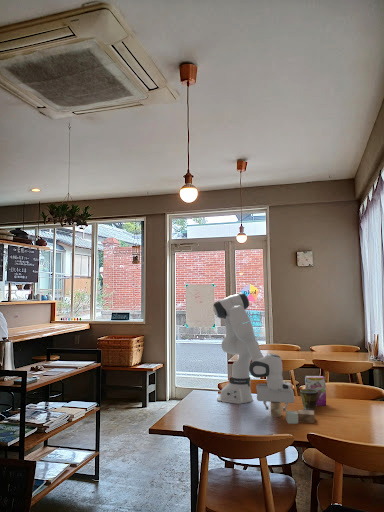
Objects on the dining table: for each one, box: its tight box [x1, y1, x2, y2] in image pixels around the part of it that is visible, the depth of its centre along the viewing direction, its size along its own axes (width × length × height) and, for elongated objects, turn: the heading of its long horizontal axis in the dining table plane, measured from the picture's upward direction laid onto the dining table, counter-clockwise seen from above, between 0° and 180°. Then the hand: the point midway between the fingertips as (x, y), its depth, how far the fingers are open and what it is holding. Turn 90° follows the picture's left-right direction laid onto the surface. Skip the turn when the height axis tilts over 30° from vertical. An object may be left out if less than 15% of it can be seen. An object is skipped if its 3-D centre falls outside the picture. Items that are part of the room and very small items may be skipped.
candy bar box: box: [304, 375, 327, 407], centre depth 229 cm, size 11×5×16 cm, turn 84°
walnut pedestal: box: [297, 409, 316, 424], centre depth 200 cm, size 8×8×4 cm
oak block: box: [270, 402, 282, 418], centre depth 209 cm, size 5×5×7 cm
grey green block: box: [285, 410, 299, 425], centre depth 197 cm, size 5×5×5 cm
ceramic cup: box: [299, 388, 318, 411], centre depth 220 cm, size 13×10×10 cm
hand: (275, 410), depth 209 cm, fingers open, 8 cm apart
